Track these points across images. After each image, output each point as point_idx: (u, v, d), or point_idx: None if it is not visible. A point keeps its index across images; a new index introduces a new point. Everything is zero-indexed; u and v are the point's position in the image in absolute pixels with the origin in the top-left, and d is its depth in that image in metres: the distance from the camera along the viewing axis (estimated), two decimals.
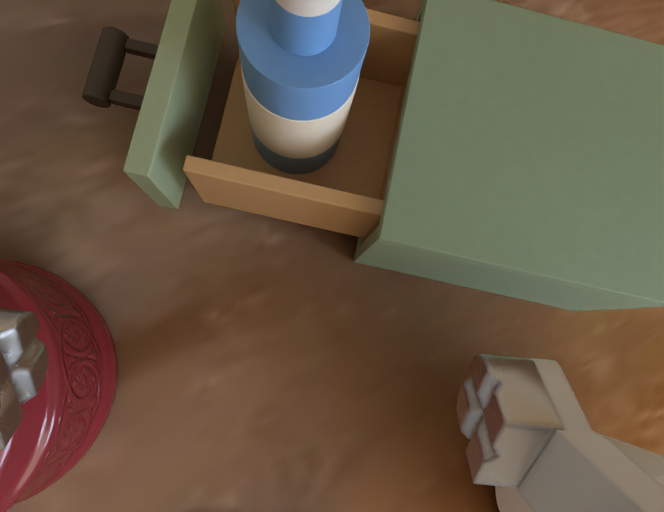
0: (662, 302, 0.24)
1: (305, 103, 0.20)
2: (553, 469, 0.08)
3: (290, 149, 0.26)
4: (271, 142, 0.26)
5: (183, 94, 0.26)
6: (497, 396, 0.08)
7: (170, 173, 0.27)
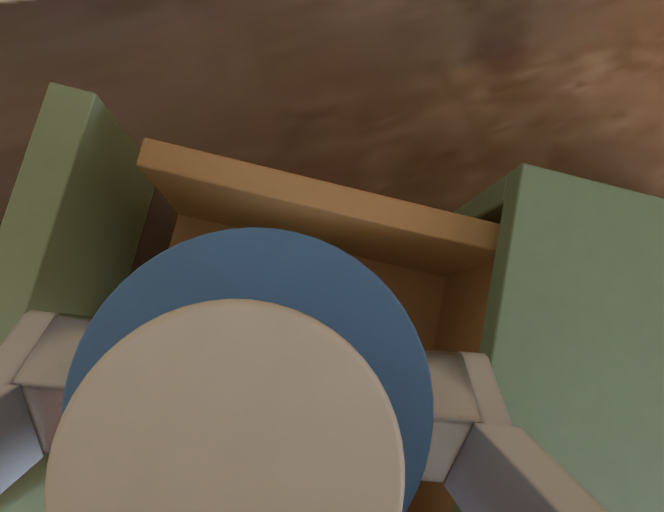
0: None
1: None
2: (473, 463, 0.08)
3: None
4: None
5: None
6: None
7: (26, 491, 0.14)
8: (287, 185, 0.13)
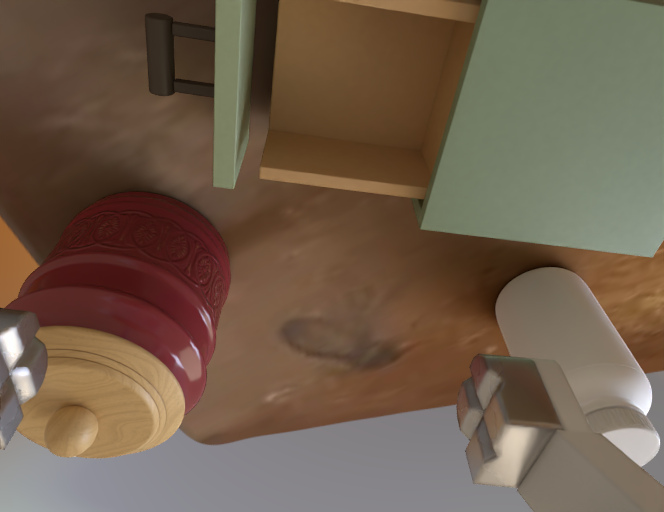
0: (640, 255, 0.31)
1: None
2: (553, 469, 0.08)
3: None
4: None
5: (242, 91, 0.28)
6: (497, 396, 0.08)
7: (242, 146, 0.31)
8: None
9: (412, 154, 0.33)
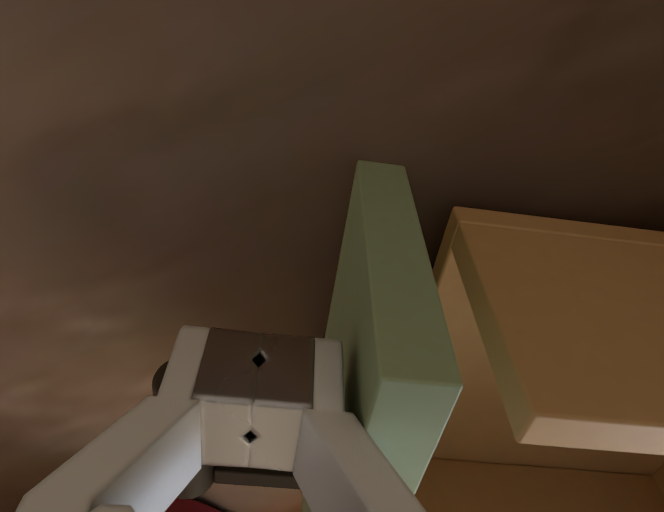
0: None
1: None
2: (307, 450, 0.08)
3: None
4: None
5: None
6: (255, 375, 0.08)
7: None
8: None
9: (646, 496, 0.18)
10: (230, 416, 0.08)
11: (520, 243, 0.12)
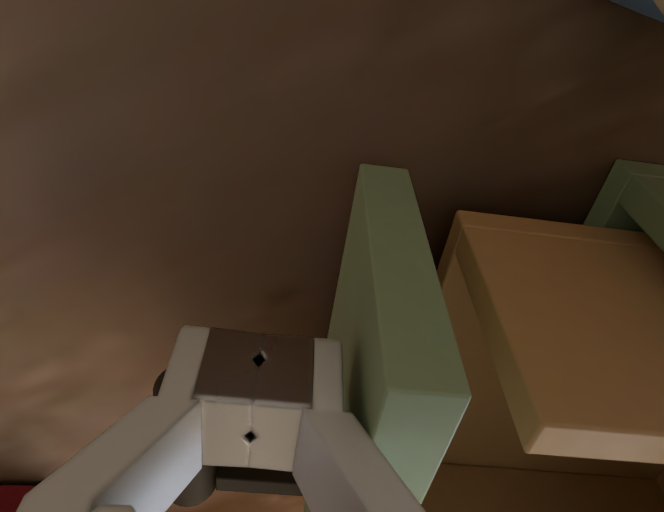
0: None
1: None
2: (306, 450, 0.08)
3: None
4: None
5: None
6: (254, 375, 0.08)
7: None
8: None
9: (650, 501, 0.18)
10: (231, 416, 0.08)
11: (525, 247, 0.12)
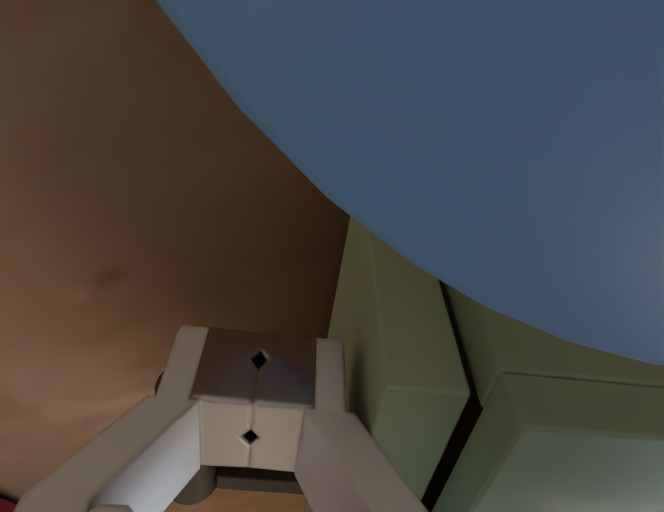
0: None
1: None
2: (308, 450, 0.08)
3: None
4: None
5: None
6: (256, 374, 0.08)
7: None
8: None
9: None
10: (229, 416, 0.08)
11: None
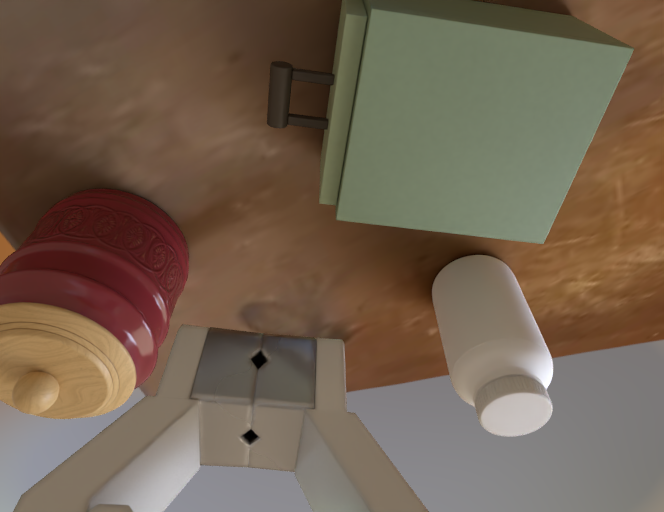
0: (532, 242, 0.35)
1: None
2: (309, 450, 0.08)
3: None
4: None
5: None
6: (257, 375, 0.08)
7: None
8: None
9: None
10: (229, 416, 0.08)
11: None
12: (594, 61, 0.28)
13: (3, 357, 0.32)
